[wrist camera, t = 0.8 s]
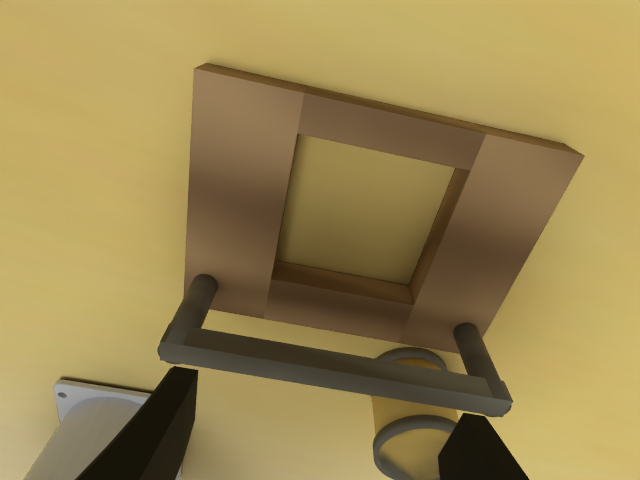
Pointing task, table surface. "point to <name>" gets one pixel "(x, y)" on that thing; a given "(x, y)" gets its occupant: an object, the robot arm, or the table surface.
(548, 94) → the table surface
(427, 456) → the cord reel
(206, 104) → the brown piece
